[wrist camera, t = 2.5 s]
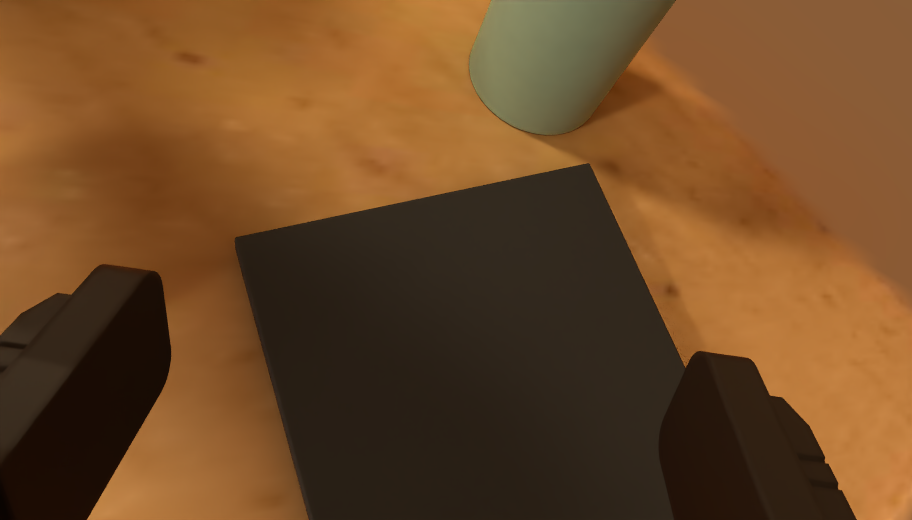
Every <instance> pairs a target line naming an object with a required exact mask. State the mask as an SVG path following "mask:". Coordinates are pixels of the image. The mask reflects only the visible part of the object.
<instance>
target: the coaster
mask: <svg viewBox="0 0 912 520" xmlns="http://www.w3.org/2000/svg"><path fill="white" fill-rule="evenodd" d="M235 248H236V253H237V257H238V260H239V264H240V268H241V271H242V275H243V279H244V282H245V286H246V290H247V293H248V297H249V301H250V304H251V308H252V312H253V316H254V319H255V323H256V327H257V330H258V334H259V338H260V341H261V345H262V349H263V352H264V356H265V360H266V363H267V367H268V371H269V374H270V378H271V382H272V385H273V389H274V393H275V396H276V400H277V404H278V408H279V411H280V415H281V419H282V422H283V426H284V430H285V433H286V437H287V441H288V444H289V448H290V452H291V455H292V459H293V463H294V466H295V470H296V474H297V477H298V481H299V485H300V488H301V492H302V496H303V499H304V503H305V507H306V511H307V514H308V518H309V520H674V517H673V513H672V509H671V505H670V500H669V496H668V492H667V488H666V484H665V480H664V476H663V472H662V468H661V464H660V459H659V449H658V446H659V433H660V428H661V424H662V421H663V418H664V416H665V414H666V411H667V409H668V407H669V405H670V402H671V400H672V398H673V396H674V394H675V391H676V389H677V387H678V385H679V382H680V380H681V378H682V376H683V374H684V371H685V369H686V368H685V366H684V364H683V362H682V360H681V358H680V356H679V354H678V351H677V349H676V347H675V345H674V343H673V341H672V339H671V336H670V334H669V332H668V330H667V328H666V326H665V324H664V322H663V319H662V317H661V315H660V313H659V311H658V309H657V307H656V304H655V302H654V300H653V298H652V296H651V294H650V292H649V290H648V287H647V285H646V283H645V281H644V279H643V277H642V275H641V273H640V270H639V268H638V266H637V264H636V262H635V260H634V258H633V255H632V253H631V251H630V249H629V247H628V245H627V243H626V241H625V238H624V236H623V234H622V232H621V230H620V228H619V226H618V223H617V221H616V219H615V217H614V215H613V213H612V211H611V209H610V206H609V204H608V202H607V200H606V198H605V196H604V194H603V191H602V189H601V187H600V185H599V183H598V181H597V179H596V177H595V174H594V172H593V170H592V168H591V166H590V164H589V163H587V164H582V165H578V166H573V167H568V168H563V169H559V170H554V171H549V172H544V173H540V174H535V175H530V176H525V177H521V178H516V179H511V180H506V181H502V182H497V183H492V184H487V185H483V186H478V187H473V188H468V189H464V190H459V191H454V192H449V193H445V194H440V195H435V196H430V197H426V198H421V199H416V200H411V201H407V202H402V203H397V204H392V205H388V206H383V207H378V208H373V209H368V210H364V211H359V212H354V213H349V214H345V215H340V216H335V217H330V218H326V219H321V220H316V221H311V222H307V223H302V224H297V225H292V226H288V227H283V228H278V229H273V230H269V231H264V232H259V233H254V234H250V235H245V236H240V237H236V238H235Z"/></svg>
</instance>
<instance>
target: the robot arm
mask: <svg viewBox="0 0 912 520" xmlns="http://www.w3.org/2000/svg"><path fill="white" fill-rule="evenodd" d="M170 362H171V345H170V337H169V329H168V322H167V314H166V306H165V299H164V291H163V284H162V280H161V277H160V275H159V274H158V273H157V272H155V271H150V270H143V269H136V268H129V267H122V266H115V265H108V264H102V265H99V266H98V267H96V268H95V269H94V270H93V271H92V272H91V273H90V275H89V276H88V277H87V278H86V279H85V280H84V281H83V282H82V284H81V285H80V286H79V287H78V288H77V289H76V290H75V292H74V293H73V294H72V295H68V294H61V293H57V294H55V295H53V296H51V297H50V298H48V299H46V300H44V301H43V302H41V303H39V304H37V305H35V306H34V307H32V308H30V309H28V310H27V311H25V312H23V313H21V314H20V315H19V316H18V317H17V319H16V320H15V321H14V322H13V323H12V324H11V325H10V326H9V327H8V328H7V329H6V330H5V331H4V332H3V333H2V334H1V335H0V520H87V518H88V517H89V515H90V513H91V512H92V510H93V508H94V506H95V505H96V503H97V501H98V500H99V498H100V496H101V494H102V493H103V491H104V489H105V488H106V486H107V484H108V482H109V481H110V479H111V477H112V476H113V474H114V472H115V470H116V469H117V467H118V465H119V464H120V462H121V460H122V458H123V457H124V455H125V453H126V452H127V450H128V448H129V446H130V445H131V443H132V441H133V440H134V438H135V436H136V434H137V433H138V431H139V429H140V428H141V426H142V424H143V422H144V421H145V419H146V417H147V416H148V414H149V412H150V410H151V409H152V407H153V405H154V403H155V402H156V400H157V398H158V397H159V395H160V393H161V391H162V389H163V387H164V385H165V383H166V380H167V376H168V373H169V368H170ZM658 449H659V459H660V464H661V468H662V472H663V476H664V480H665V484H666V488H667V492H668V496H669V500H670V505H671V509H672V513H673V517H674V520H857V519H856V517H855V515H854V513H853V511H852V509H851V508H850V506H849V504H848V502H847V500H846V498H845V496H844V494H843V492H842V490H838V482H837V480H836V478H835V476H834V474H833V472H832V470H831V468H830V466H829V464H826V463H825V456H824V454H823V452H822V450H821V448H820V446H819V444H818V442H817V440H816V438H815V436H814V434H813V432H812V430H811V428H810V426H809V425H808V424H807V423H806V422H805V421H804V420H803V419H802V418H801V417H800V416H799V415H798V414H797V413H796V412H795V410H794V409H793V408H792V407H791V406H790V405H789V404H788V403H787V402H786V401H785V400H784V399H783V398H782V397H775V396H770V395H769V393H768V391H767V389H766V386H765V384H764V382H763V380H762V378H761V376H760V373H759V371H758V369H757V367H756V365H755V364H754V362H753V361H752V360H751V359H749V358H745V357H738V356H731V355H724V354H717V353H710V352H703V351H698V352H696V353H695V354H694V355H693V356H692V357H691V359H690V361H689V363H688V365H687V367H686V369H685V371H684V374H683V376H682V378H681V380H680V382H679V385H678V387H677V389H676V391H675V394H674V396H673V398H672V400H671V402H670V405H669V407H668V409H667V411H666V414H665V416H664V418H663V421H662V424H661V428H660V433H659V446H658Z"/></svg>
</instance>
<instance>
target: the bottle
mask: <svg viewBox="0 0 912 520" xmlns="http://www.w3.org/2000/svg"><path fill="white" fill-rule="evenodd" d="M675 1H676V0H491V3H490V5H489V8H488V10H487V13H486V15H485V18H484V20H483V23H482V25H481V27H480V30H479V32H478V35H477V37H476V40H475V42H474V45H473V47H472V50H471V54H470V58H469V71H470V77H471V80H472V83H473V86H474V88H475V90H476V92H477V94H478V95H479V97H480V98H481V100H482V101H483V102H484V104H485V105H486V106H487V107H488V108H489V109H490V110H491V111H492V112H493V113H494V114H495V115H497V116H498V117H499V118H500V119H502V120H503V121H505V122H507V123H508V124H510V125H512V126H514V127H516V128H518V129H521V130H524V131H527V132H531V133H535V134H542V135H556V134H563V133H566V132H570V131H572V130H574V129H577V128H578V127H580V126H581V125H583V124H584V123H585V122H586V121H587V120H588V119H589V118H590V117H591V115H592V114H593V113H594V111H595V110H596V109H597V107H598V106H599V104H600V103H601V102H602V100H603V99H604V98H605V96H606V95H607V94H608V92H609V91H610V89H611V88H612V87H613V85H614V84H615V83H616V81H617V80H618V79H619V77H620V76H621V74H622V73H623V72H624V70H625V69H626V68H627V66H628V65H629V64H630V62H631V61H632V59H633V58H634V57H635V55H636V54H637V53H638V51H639V50H640V49H641V47H642V46H643V44H644V43H645V42H646V40H647V39H648V38H649V36H650V35H651V34H652V32H653V31H654V29H655V28H656V27H657V25H658V24H659V23H660V21H661V20H662V19H663V17H664V16H665V14H666V13H667V12H668V10H669V9H670V8H671V6H672V5H673V3H674V2H675Z"/></svg>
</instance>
